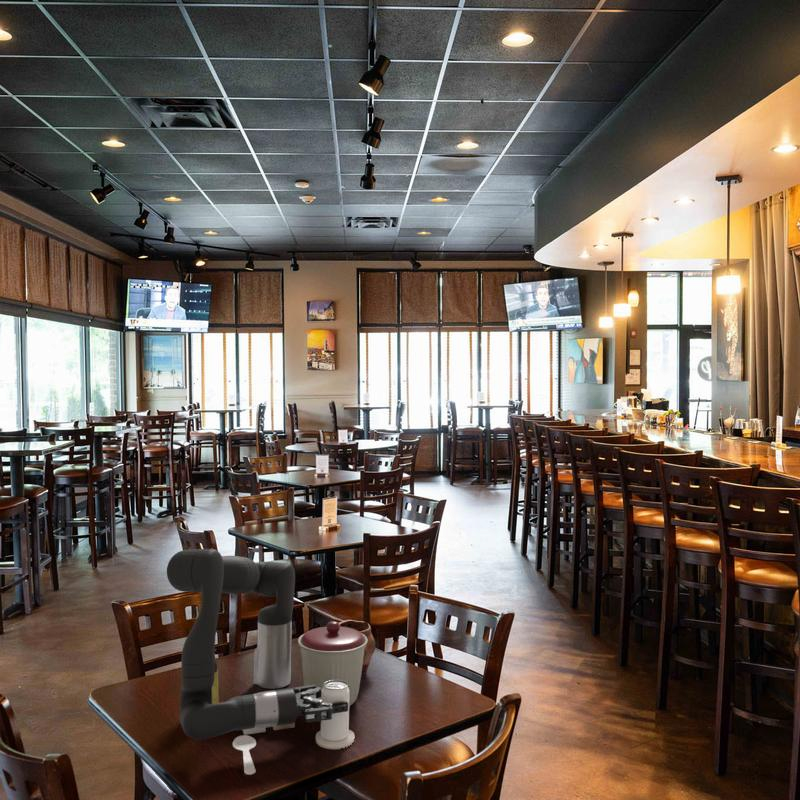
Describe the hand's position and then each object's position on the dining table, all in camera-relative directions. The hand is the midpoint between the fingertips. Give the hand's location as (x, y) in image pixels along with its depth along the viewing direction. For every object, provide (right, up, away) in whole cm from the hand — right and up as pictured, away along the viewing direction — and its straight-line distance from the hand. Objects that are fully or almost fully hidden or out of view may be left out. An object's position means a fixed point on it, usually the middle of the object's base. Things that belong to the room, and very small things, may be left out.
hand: (342, 698), depth 171 cm
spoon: (-21, -10, -8) cm, 24 cm away
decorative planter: (0, -9, +40) cm, 41 cm away
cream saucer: (-2, -9, 0) cm, 10 cm away
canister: (-4, -9, +20) cm, 23 cm away
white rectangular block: (-22, -9, +4) cm, 24 cm away
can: (-2, -9, -1) cm, 9 cm away
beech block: (-15, -9, +7) cm, 19 cm away
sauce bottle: (-35, -9, +12) cm, 38 cm away
